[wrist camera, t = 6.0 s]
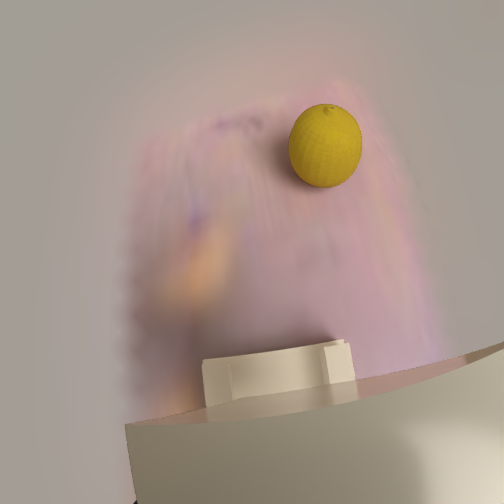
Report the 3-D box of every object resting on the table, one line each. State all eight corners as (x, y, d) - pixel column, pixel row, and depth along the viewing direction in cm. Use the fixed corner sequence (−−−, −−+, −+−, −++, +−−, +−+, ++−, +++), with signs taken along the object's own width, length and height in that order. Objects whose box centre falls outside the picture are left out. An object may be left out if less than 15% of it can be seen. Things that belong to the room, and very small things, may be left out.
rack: (356, 464, 17) (372, 476, 14) (223, 485, 17) (216, 501, 14) (338, 342, 21) (351, 333, 17) (206, 361, 21) (196, 356, 17)
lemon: (361, 178, 26) (385, 110, 19) (325, 218, 25) (345, 150, 17) (311, 145, 28) (321, 76, 21) (272, 180, 26) (273, 108, 19)
